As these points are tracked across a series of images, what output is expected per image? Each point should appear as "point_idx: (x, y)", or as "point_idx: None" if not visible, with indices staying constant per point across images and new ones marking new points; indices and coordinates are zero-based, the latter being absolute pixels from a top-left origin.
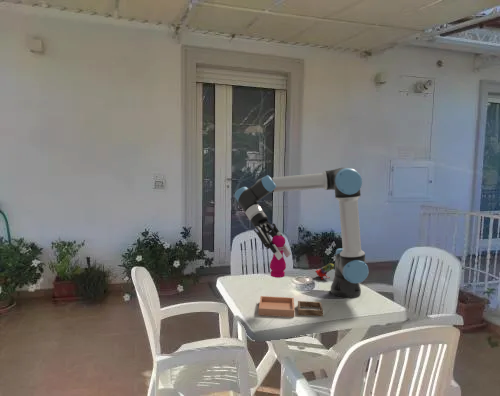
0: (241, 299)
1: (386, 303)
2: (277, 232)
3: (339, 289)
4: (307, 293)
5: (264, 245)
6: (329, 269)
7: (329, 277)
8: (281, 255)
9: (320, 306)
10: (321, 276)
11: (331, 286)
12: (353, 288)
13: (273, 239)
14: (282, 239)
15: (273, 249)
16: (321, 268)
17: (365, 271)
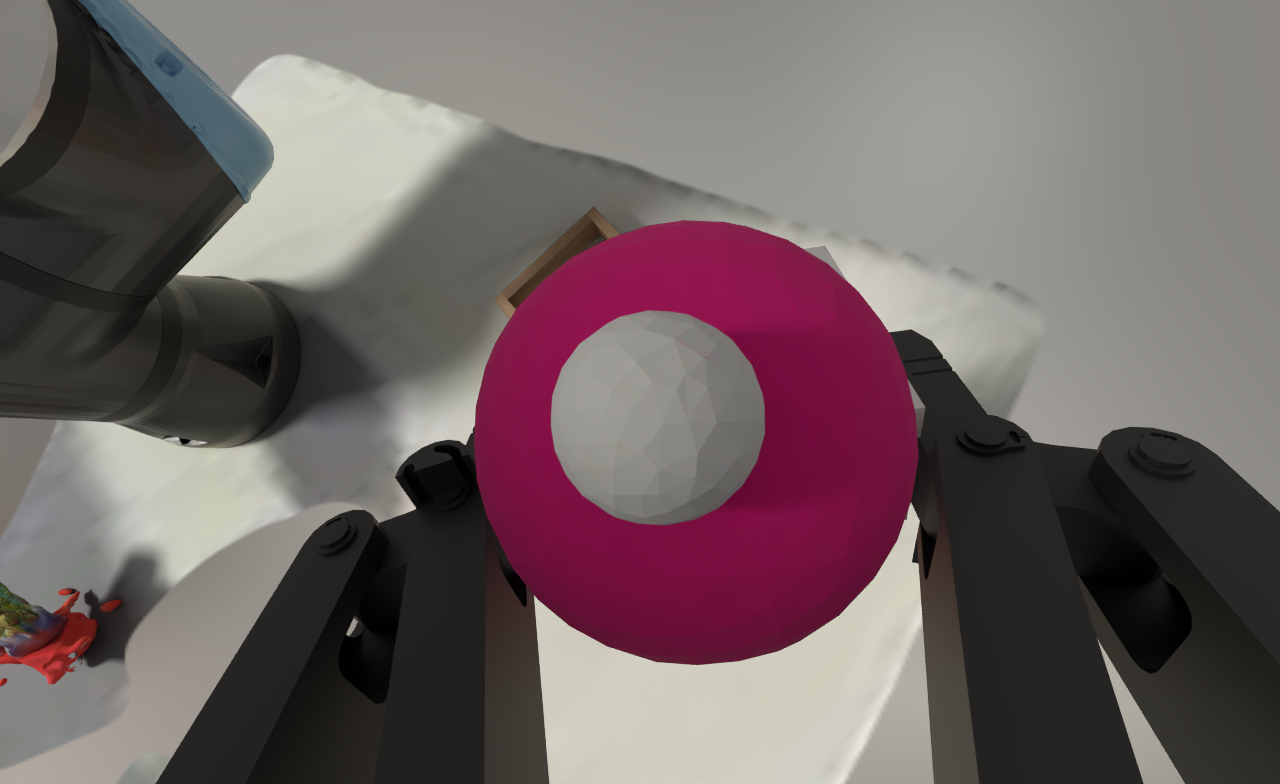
0: (781, 739)
1: None
2: (703, 472)
3: (257, 351)
4: (381, 501)
5: (1169, 580)
6: (3, 589)
7: (64, 589)
8: (822, 256)
9: (551, 257)
10: (91, 619)
11: (240, 419)
12: (215, 280)
13: (910, 485)
14: (708, 223)
15: (946, 368)
16: (18, 641)
17: (145, 18)
